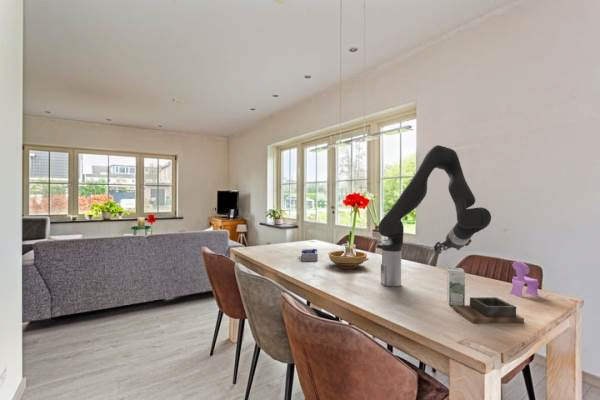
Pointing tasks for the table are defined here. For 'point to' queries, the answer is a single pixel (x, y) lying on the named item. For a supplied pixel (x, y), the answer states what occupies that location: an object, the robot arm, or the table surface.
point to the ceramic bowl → (347, 259)
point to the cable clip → (310, 253)
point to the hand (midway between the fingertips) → (447, 250)
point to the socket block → (489, 311)
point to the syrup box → (456, 286)
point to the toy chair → (523, 280)
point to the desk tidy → (309, 255)
